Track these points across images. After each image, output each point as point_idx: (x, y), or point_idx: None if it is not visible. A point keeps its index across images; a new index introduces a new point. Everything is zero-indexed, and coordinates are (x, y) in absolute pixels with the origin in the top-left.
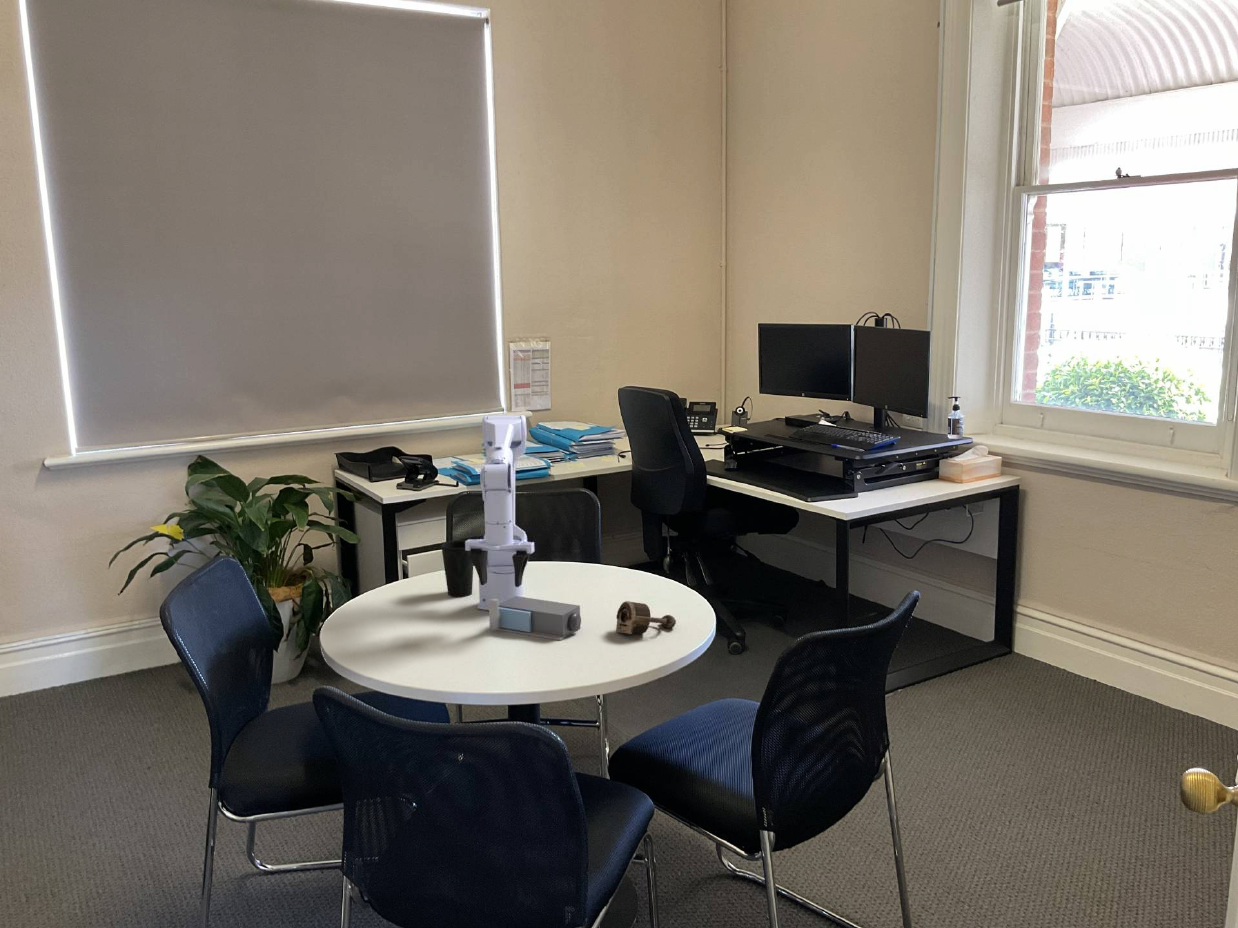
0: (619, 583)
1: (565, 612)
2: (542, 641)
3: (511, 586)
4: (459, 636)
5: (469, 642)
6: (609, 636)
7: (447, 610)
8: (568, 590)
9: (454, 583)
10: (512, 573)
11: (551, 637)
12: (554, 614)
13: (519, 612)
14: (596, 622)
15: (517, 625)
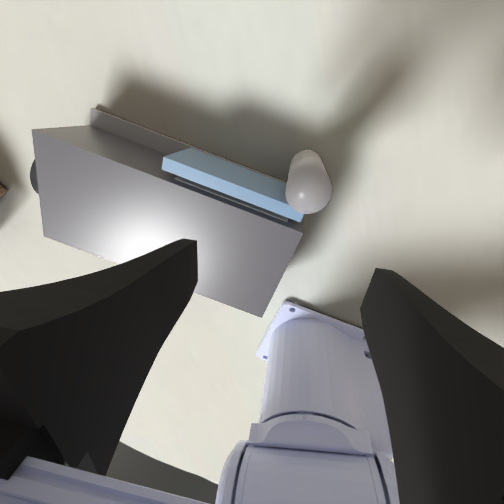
0: (141, 421)
1: (43, 164)
2: (140, 93)
3: (286, 370)
4: (427, 110)
5: (384, 42)
6: (4, 158)
7: None
8: (209, 406)
9: None
10: (279, 411)
11: (121, 119)
12: (67, 142)
13: (205, 172)
14: (82, 251)
15: (228, 165)
